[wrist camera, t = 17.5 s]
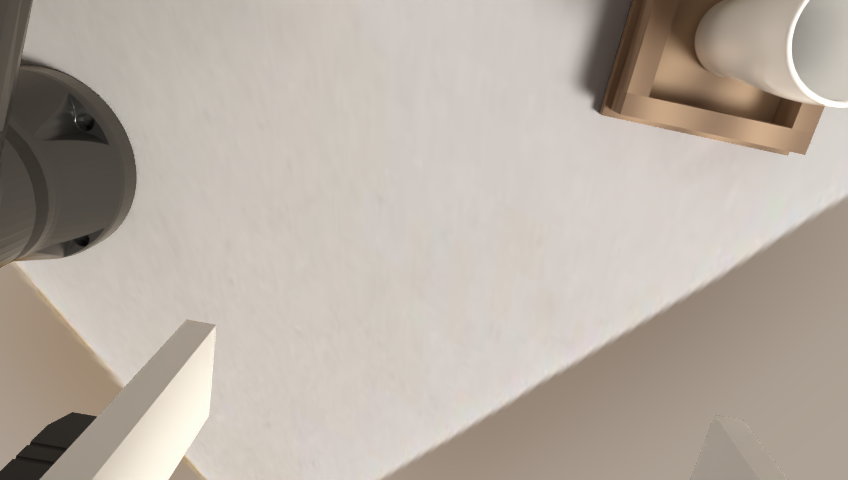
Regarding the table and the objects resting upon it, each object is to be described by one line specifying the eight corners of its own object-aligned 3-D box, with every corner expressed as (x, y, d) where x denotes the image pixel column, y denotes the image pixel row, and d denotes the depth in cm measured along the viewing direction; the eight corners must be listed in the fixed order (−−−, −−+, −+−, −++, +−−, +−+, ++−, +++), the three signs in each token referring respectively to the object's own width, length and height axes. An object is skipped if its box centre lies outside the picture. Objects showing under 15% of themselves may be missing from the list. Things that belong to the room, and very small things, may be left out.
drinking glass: (660, 41, 44) (754, 42, 30) (737, -37, 43) (875, -75, 28) (724, 107, 45) (844, 138, 31) (801, 33, 44) (966, 31, 29)
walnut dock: (599, 113, 47) (611, 120, 43) (659, -91, 43) (678, -104, 39) (781, 153, 47) (809, 163, 43) (859, -47, 43) (898, -55, 39)
